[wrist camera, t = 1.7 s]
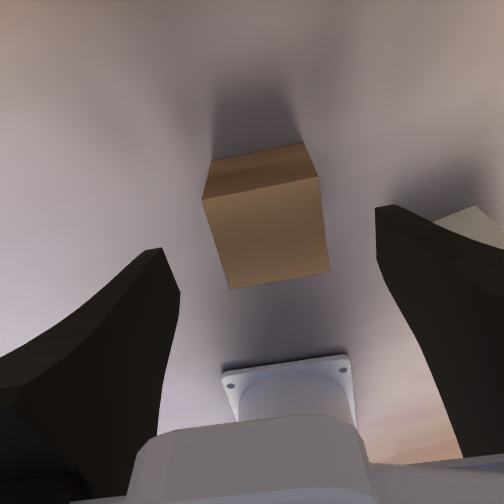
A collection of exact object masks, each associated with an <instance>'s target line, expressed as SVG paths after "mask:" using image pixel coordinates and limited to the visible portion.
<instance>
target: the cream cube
mask: <svg viewBox="0 0 504 504" xmlns="http://www.w3.org/2000/svg"><path fill="white" fill-rule="evenodd" d="M433 223H435V224H437V225H439V226H441V227H444V228H446V229H448V230H450V231H453V232H455V233H458V234H460V235H463V236H465V237H468V238H470V239H473V240H476V241H478V242H481V243H484V244H488V245H491V246H494V247H497V248H500V249H504V229H503V228H501V227H500V226H499V225H498V224H497V223H495V222H494V221H493V220H492V219H491V218H489V217H488V216H487V215H486V214H485V213H483V212H482V211H481V210H480V209H479V208H478V207H476V206H475V205H474V206H471V207H469V208H466V209H464V210H461V211H459V212H456V213H454V214H451V215H449V216H446V217H444V218H441V219H439V220H436V221H434V222H433Z"/></svg>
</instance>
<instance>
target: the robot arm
mask: <svg viewBox="0 0 504 504" xmlns="http://www.w3.org/2000/svg"><path fill="white" fill-rule="evenodd" d="M375 225H376V258H377V262H378V265H379V268H380V270H381V273H382V276H383V278H384V281H385V283H386V285H387V287H388V289H389V291H390V293H391V294H392V296H393V298H394V300H395V302H396V303H397V305H398V307H399V309H400V311H401V312H402V314H403V316H404V318H405V319H406V321H407V323H408V325H409V326H410V328H411V330H412V332H413V334H414V335H415V337H416V339H417V341H418V343H419V345H420V347H421V349H422V352H423V354H424V357H425V359H426V361H427V364H428V366H429V368H430V371H431V373H432V376H433V378H434V381H435V383H436V386H437V388H438V391H439V393H440V396H441V398H442V401H443V403H444V406H445V409H446V411H447V414H448V417H449V419H450V422H451V425H452V427H453V430H454V433H455V435H456V438H457V441H458V444H459V446H460V449H461V452H462V455H463V458H459V459H450V460H441V461H432V462H423V463H414V464H405V465H397V464H383V463H369V459H368V456H367V452H366V448H365V444H364V441H363V439H362V438H361V436H360V434H359V433H358V431H357V423H356V412H355V402H354V391H353V381H352V370H351V362H350V359H349V357H348V356H347V355H334V356H327V357H321V358H314V359H307V360H300V361H293V362H286V363H279V364H272V365H265V366H259V367H252V368H245V369H238V370H231V371H226V372H224V373H222V375H221V383H222V385H223V388H224V390H225V393H226V395H227V398H228V400H229V403H230V406H231V408H232V411H233V413H234V416H235V418H236V421H237V422H232V423H224V424H217V425H209V426H201V427H193V428H186V429H178V430H174V431H171V432H168V433H165V434H161V435H158V436H157V427H158V417H159V408H160V401H161V393H162V385H163V380H164V375H165V371H166V367H167V363H168V358H169V354H170V350H171V346H172V342H173V338H174V334H175V330H176V326H177V321H178V316H179V306H180V291H179V288H178V286H177V283H176V281H175V278H174V276H173V273H172V271H171V269H170V266H169V264H168V261H167V259H166V256H165V254H164V251H163V249H162V247H161V248H156V249H150V250H145V251H144V252H142V253H141V254H140V255H139V256H137V257H136V258H135V259H134V260H133V261H132V262H131V263H130V264H128V265H127V266H126V267H125V268H124V269H123V270H122V271H121V272H120V273H119V274H118V275H117V276H116V277H114V278H113V279H112V280H111V281H110V282H109V283H108V284H107V285H106V286H105V287H103V288H102V289H101V290H100V291H99V292H98V293H96V294H95V295H94V296H93V297H92V298H91V299H89V300H88V301H87V302H86V303H85V304H83V305H82V306H81V307H80V308H78V309H77V310H76V311H74V312H73V313H72V314H70V315H69V316H67V317H66V318H65V319H63V320H62V321H61V322H59V323H58V324H56V325H55V326H53V327H52V328H50V329H48V330H47V331H45V332H44V333H42V334H40V335H39V336H37V337H36V338H34V339H32V340H31V341H29V342H28V343H26V344H24V345H23V346H21V347H19V348H17V349H15V350H14V351H12V352H10V353H8V354H6V355H4V356H2V357H0V504H504V249H500V248H497V247H494V246H491V245H488V244H484V243H481V242H478V241H476V240H473V239H470V238H468V237H465V236H463V235H460V234H458V233H455V232H453V231H450V230H448V229H446V228H444V227H441V226H439V225H437V224H435V223H433V222H431V221H429V220H427V219H424V218H422V217H420V216H418V215H416V214H414V213H412V212H410V211H408V210H406V209H404V208H402V207H400V206H398V205H395V204H393V205H388V206H382V207H377V208H375ZM342 367H343V368H342Z"/></svg>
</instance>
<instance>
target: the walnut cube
mask: <svg viewBox="0 0 504 504" xmlns="http://www.w3.org/2000/svg"><path fill="white" fill-rule="evenodd" d="M202 203H203V206H204V209H205V212H206V215H207V219H208V222H209V225H210V228H211V231H212V234H213V238H214V241H215V244H216V247H217V250H218V254H219V257H220V260H221V263H222V266H223V269H224V273H225V276H226V279H227V282H228V285H229V289H236V288H242V287H247V286H253V285H259V284H265V283H270V282H276V281H282V280H287V279H293V278H299V277H305V276H310V275H316V274H322V273H328V272H330V270H329V262H328V254H327V246H326V238H325V229H324V221H323V213H322V205H321V197H320V188H319V180H318V175H317V173H316V171H315V168H314V166H313V164H312V161H311V159H310V157H309V154H308V152H307V150H306V147H305V145H304V143H303V142H301V143H296V144H291V145H287V146H282V147H277V148H272V149H268V150H263V151H258V152H254V153H249V154H244V155H240V156H235V157H230V158H225V159H221V160H216V161H211V165H210V169H209V173H208V177H207V181H206V185H205V189H204V193H203V197H202Z"/></svg>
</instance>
